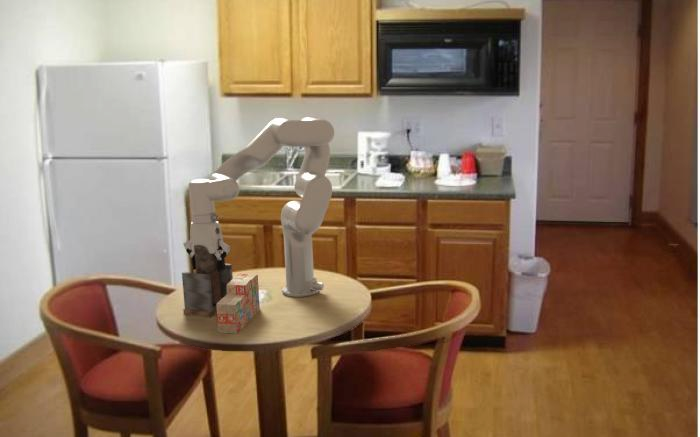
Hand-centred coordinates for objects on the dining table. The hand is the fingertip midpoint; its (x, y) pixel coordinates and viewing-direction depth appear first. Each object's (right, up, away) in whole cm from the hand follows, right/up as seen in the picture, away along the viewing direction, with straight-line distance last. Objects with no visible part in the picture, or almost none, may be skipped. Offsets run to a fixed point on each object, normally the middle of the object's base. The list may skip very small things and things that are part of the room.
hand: (208, 269), depth 248 cm
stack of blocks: (+11, -16, -9) cm, 21 cm away
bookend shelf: (0, -13, +3) cm, 13 cm away
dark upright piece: (0, -11, +3) cm, 12 cm away
